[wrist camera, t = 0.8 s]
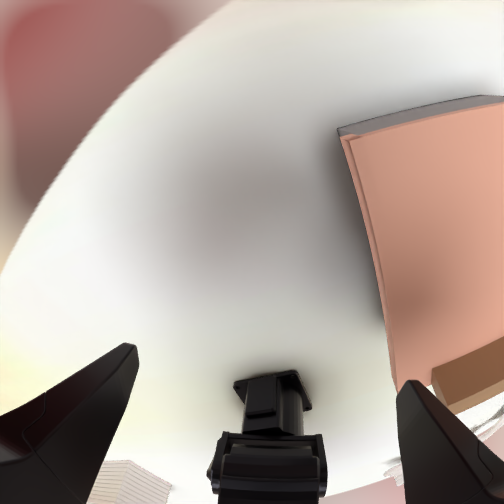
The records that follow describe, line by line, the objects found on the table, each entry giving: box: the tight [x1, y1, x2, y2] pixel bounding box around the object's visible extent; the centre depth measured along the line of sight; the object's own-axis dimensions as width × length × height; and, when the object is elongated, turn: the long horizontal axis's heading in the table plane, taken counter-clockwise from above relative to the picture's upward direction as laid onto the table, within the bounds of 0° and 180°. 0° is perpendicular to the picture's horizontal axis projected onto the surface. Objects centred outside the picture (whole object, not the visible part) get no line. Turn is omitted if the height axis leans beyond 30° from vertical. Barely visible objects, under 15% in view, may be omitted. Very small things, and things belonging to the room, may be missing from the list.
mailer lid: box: [340, 102, 504, 415], centre depth 12 cm, size 16×14×5 cm
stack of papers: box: [86, 460, 172, 504], centre depth 44 cm, size 32×11×11 cm, turn 125°
